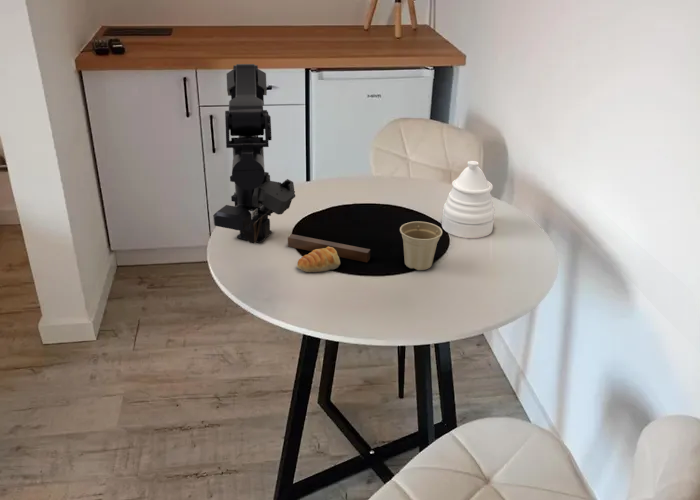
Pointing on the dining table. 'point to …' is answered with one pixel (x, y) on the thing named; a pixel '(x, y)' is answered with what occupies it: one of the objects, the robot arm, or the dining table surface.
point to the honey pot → (469, 205)
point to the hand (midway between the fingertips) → (252, 242)
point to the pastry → (319, 260)
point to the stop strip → (341, 249)
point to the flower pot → (420, 243)
